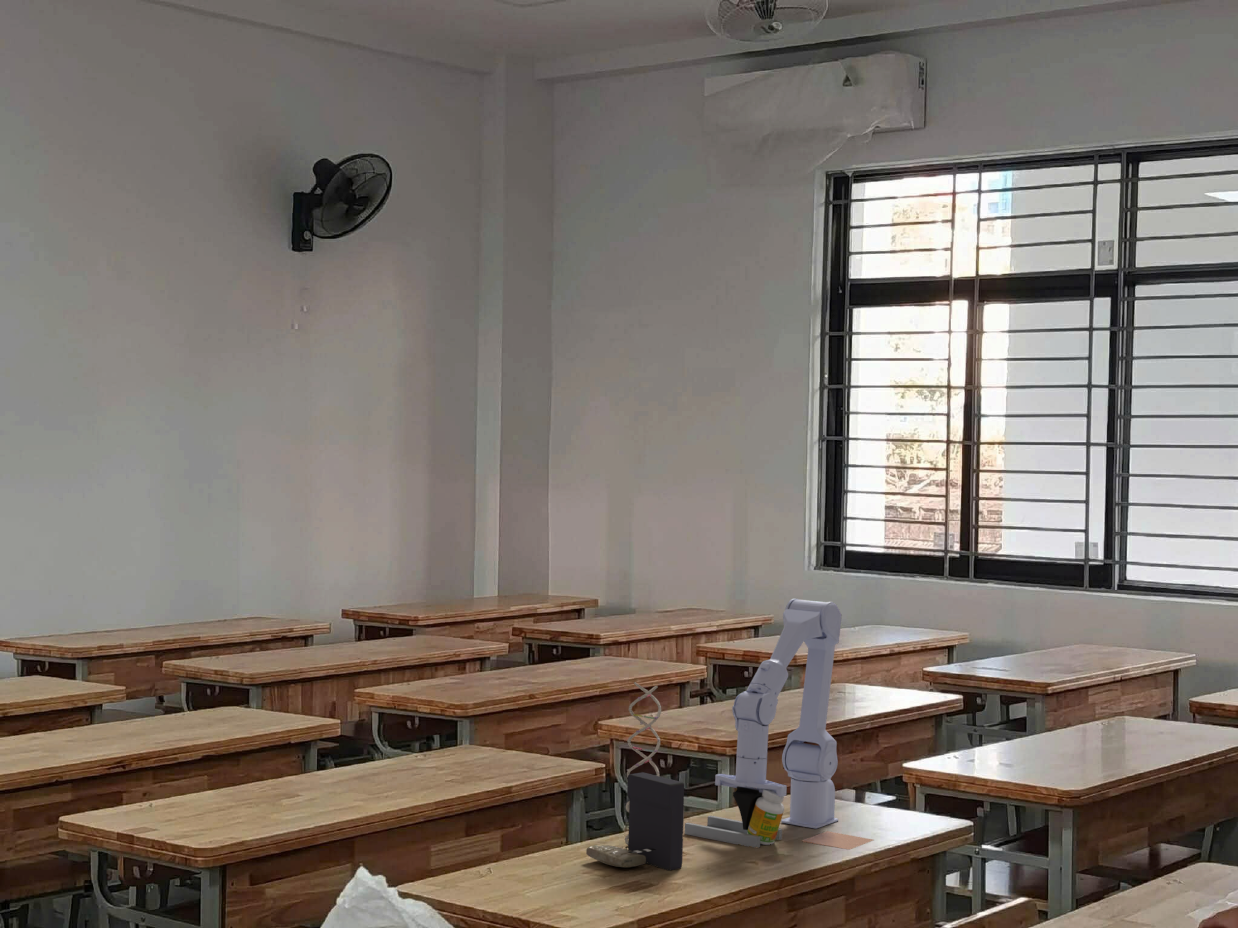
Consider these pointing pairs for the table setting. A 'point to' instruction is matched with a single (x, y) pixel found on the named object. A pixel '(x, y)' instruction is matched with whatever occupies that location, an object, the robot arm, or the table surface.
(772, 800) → the supplement bottle
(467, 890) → the table surface
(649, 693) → the dna model
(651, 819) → the black upright block
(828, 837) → the tile
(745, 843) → the channel
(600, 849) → the cuneiform tablet
